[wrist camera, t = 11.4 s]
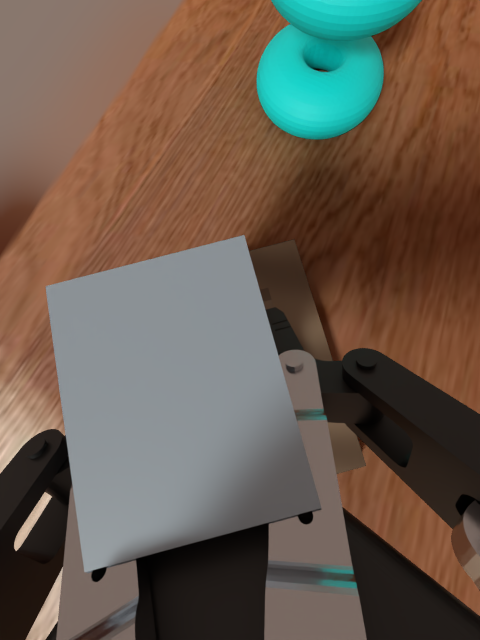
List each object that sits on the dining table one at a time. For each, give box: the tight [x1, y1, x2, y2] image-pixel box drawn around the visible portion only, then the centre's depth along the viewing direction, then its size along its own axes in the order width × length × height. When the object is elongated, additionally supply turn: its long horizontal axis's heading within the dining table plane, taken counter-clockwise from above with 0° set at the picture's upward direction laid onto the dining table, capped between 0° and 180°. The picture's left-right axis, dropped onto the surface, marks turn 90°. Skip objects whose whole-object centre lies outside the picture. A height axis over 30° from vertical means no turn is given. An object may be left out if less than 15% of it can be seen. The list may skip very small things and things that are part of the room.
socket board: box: [249, 239, 366, 474], centre depth 18 cm, size 16×14×4 cm
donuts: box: [257, 0, 422, 140], centre depth 19 cm, size 10×10×10 cm
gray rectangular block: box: [46, 235, 321, 572], centre depth 11 cm, size 5×4×12 cm
